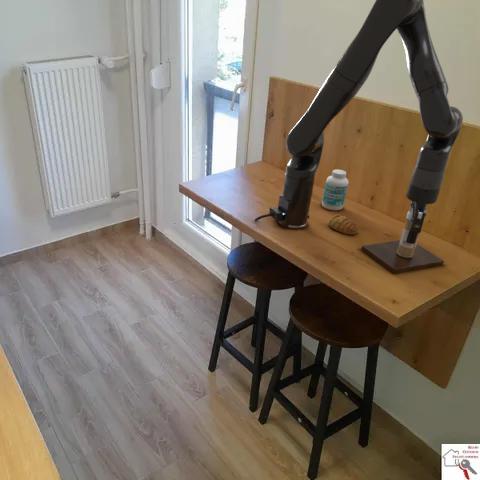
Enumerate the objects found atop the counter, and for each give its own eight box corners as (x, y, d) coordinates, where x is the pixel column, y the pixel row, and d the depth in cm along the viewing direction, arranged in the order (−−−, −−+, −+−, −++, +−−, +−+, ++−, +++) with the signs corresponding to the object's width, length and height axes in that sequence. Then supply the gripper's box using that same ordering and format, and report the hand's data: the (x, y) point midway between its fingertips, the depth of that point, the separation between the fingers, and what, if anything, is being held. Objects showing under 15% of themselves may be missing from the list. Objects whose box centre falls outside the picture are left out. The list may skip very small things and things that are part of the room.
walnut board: (393, 273, 131) (394, 269, 130) (361, 250, 143) (362, 245, 142) (442, 265, 136) (444, 260, 135) (407, 242, 147) (408, 238, 147)
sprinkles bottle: (416, 255, 137) (429, 213, 131) (407, 260, 135) (420, 217, 129) (401, 249, 140) (413, 208, 134) (392, 253, 138) (404, 211, 132)
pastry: (362, 232, 153) (365, 222, 151) (348, 237, 150) (350, 227, 148) (339, 221, 160) (341, 211, 158) (325, 226, 157) (327, 216, 155)
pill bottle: (320, 209, 169) (327, 173, 163) (322, 201, 175) (329, 166, 169) (342, 212, 167) (350, 176, 160) (343, 204, 173) (351, 169, 166)
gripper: (409, 172, 134) (395, 224, 142) (411, 190, 123) (395, 245, 130) (439, 176, 132) (422, 229, 139) (443, 194, 120) (425, 250, 128)
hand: (409, 236), depth 135 cm, fingers open, 7 cm apart
